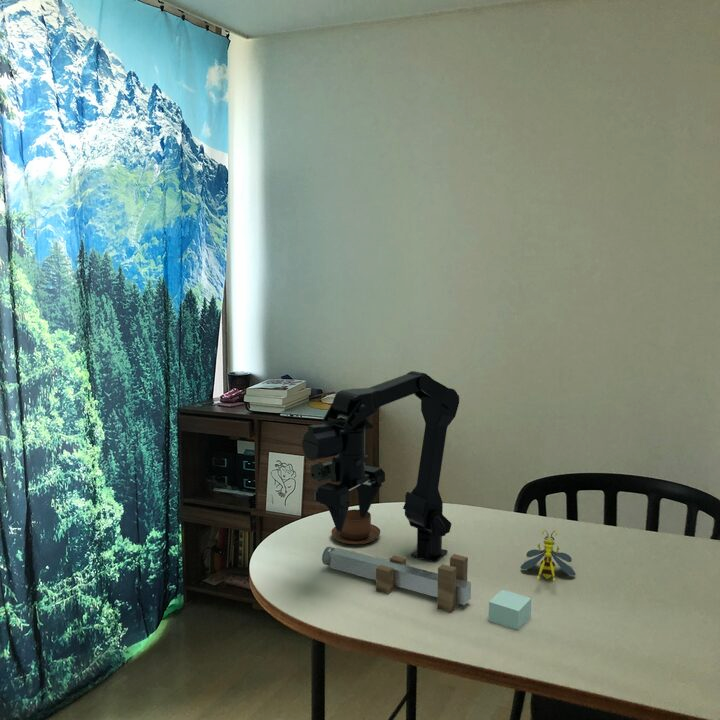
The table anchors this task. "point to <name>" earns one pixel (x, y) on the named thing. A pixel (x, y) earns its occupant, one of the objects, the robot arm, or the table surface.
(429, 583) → the shaft
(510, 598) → the block
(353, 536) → the cup and saucer
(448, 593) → the bearing
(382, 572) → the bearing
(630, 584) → the table surface
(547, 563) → the toy
